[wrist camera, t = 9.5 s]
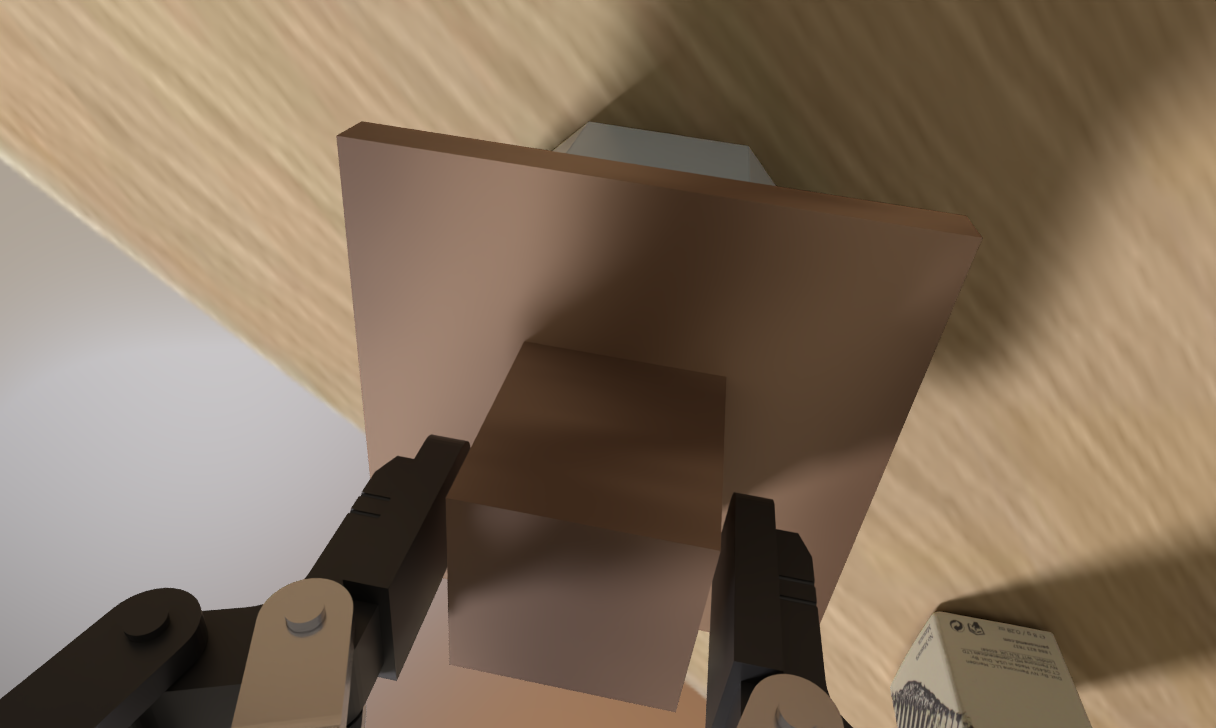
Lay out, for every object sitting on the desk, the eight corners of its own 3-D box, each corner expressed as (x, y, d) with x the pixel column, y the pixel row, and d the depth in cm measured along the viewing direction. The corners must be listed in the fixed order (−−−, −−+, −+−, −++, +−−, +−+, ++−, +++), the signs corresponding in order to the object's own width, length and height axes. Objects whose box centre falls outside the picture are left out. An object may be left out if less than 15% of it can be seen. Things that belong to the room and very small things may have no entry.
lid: (966, 215, 13) (1095, 393, 8) (805, 618, 19) (825, 852, 14) (361, 121, 13) (162, 233, 9) (394, 536, 19) (286, 732, 15)
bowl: (861, 154, 18) (906, 249, 13) (771, 448, 23) (779, 597, 18) (487, 97, 19) (395, 166, 14) (482, 395, 24) (414, 524, 19)
